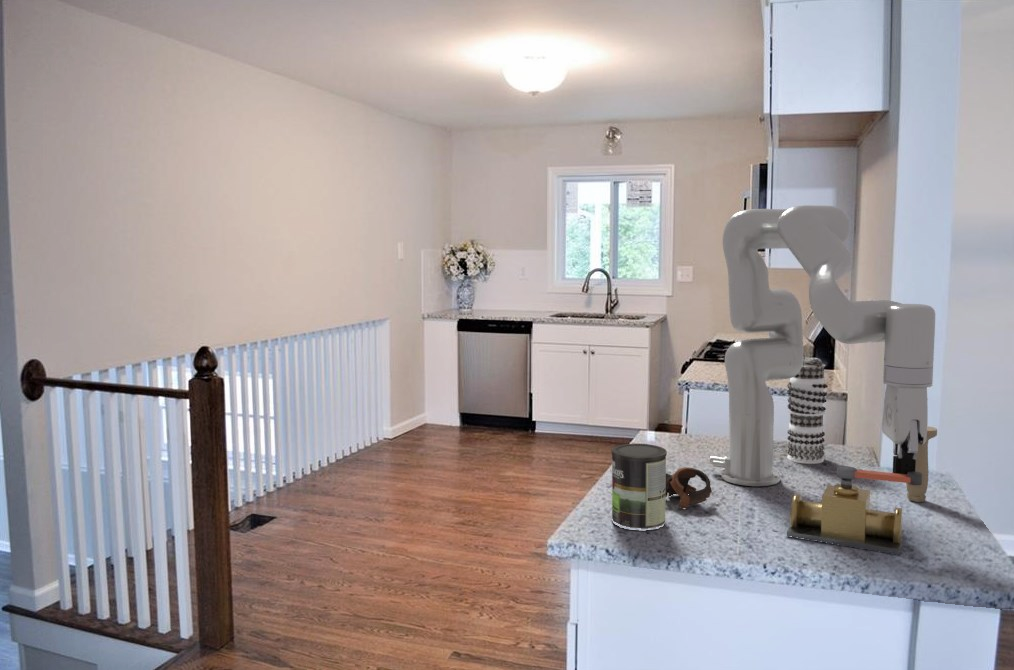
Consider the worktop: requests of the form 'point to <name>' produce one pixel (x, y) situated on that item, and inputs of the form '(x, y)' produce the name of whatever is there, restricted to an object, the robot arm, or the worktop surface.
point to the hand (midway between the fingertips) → (903, 479)
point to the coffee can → (638, 485)
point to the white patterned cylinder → (807, 413)
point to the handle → (921, 469)
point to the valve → (846, 520)
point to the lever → (879, 475)
